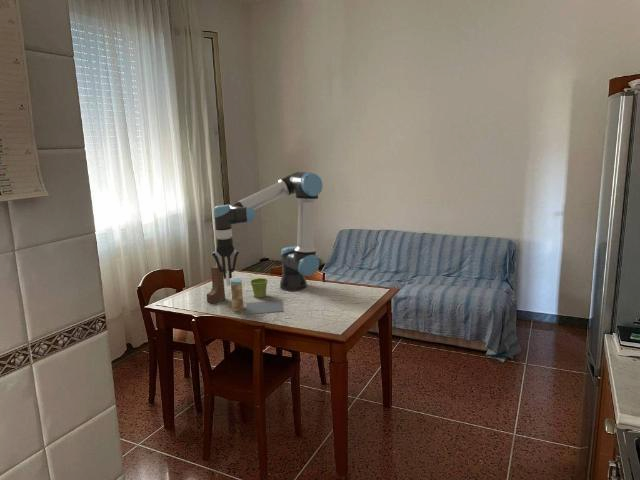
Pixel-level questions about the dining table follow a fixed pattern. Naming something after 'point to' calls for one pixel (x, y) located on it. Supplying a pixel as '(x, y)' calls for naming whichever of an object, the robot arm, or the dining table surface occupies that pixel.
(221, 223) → the robot arm
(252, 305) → the mat
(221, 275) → the brown boot
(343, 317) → the dining table surface
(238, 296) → the tan jar with lid
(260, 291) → the plant pot
